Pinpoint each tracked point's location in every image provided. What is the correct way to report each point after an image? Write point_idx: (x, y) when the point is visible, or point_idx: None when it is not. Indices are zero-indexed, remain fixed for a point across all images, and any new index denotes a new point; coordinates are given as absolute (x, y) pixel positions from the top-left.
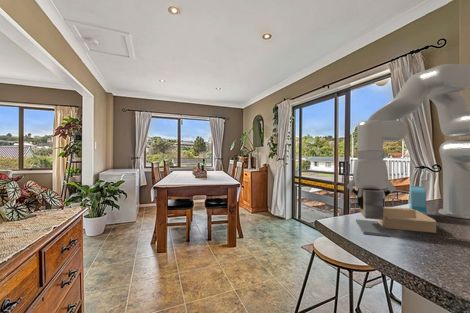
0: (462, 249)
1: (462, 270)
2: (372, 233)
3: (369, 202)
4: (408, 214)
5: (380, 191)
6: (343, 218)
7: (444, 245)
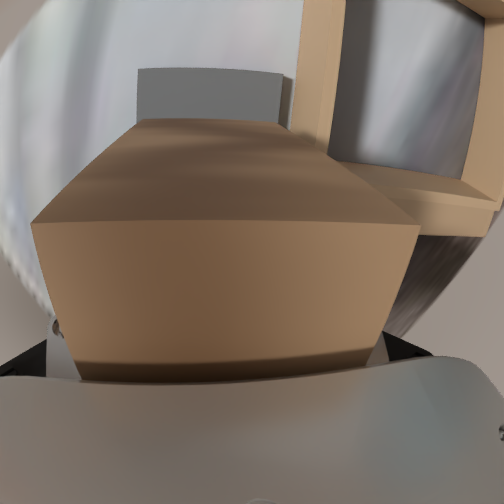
0: (413, 321)
1: None
2: None
3: None
4: (487, 5)
5: None
6: (73, 23)
7: (393, 310)
